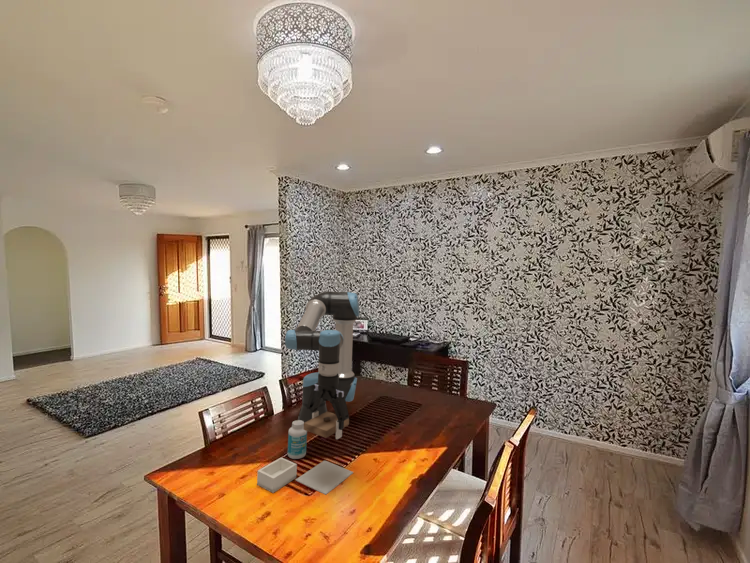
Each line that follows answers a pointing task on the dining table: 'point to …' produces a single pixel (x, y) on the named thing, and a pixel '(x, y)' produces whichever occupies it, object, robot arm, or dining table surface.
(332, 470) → the mat
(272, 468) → the dish
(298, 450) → the pill bottle
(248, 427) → the dining table surface
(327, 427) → the cover
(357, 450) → the dining table surface
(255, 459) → the dining table surface
